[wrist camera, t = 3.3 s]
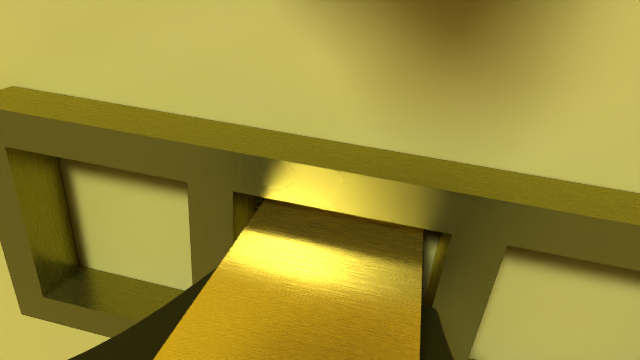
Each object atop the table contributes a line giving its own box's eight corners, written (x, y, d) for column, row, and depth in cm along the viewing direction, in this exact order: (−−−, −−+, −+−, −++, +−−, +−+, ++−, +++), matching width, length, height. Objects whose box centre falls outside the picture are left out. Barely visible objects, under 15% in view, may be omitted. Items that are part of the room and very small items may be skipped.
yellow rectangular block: (424, 213, 13) (415, 486, 6) (397, 327, 15) (369, 624, 8) (274, 185, 14) (123, 403, 7) (268, 298, 16) (147, 549, 9)
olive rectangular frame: (806, 221, 11) (871, 267, 9) (658, 430, 14) (686, 488, 13) (12, 86, 14) (-41, 102, 12) (57, 283, 18) (21, 314, 16)
